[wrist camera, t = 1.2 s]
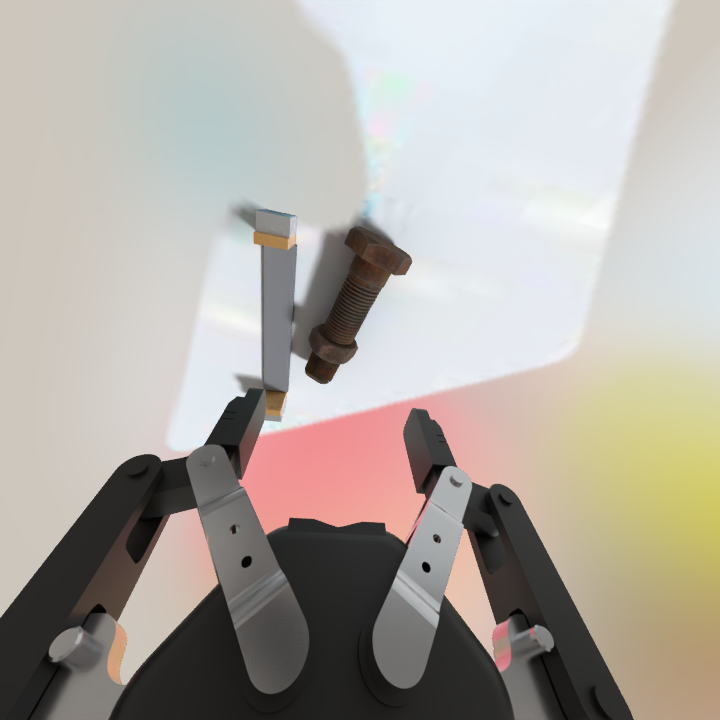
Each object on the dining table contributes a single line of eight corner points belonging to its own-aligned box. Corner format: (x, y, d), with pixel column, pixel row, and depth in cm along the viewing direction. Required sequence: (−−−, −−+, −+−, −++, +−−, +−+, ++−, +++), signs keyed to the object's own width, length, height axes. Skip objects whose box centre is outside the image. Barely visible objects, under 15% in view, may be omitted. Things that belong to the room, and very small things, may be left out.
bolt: (315, 354, 31) (373, 231, 24) (347, 379, 30) (418, 259, 23) (282, 370, 26) (343, 220, 19) (320, 401, 25) (400, 255, 18)
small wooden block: (265, 388, 31) (257, 408, 28) (286, 391, 31) (280, 410, 28) (265, 402, 32) (257, 422, 29) (286, 404, 32) (279, 424, 29)
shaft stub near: (266, 209, 21) (253, 210, 18) (297, 215, 21) (288, 218, 18) (266, 238, 22) (253, 243, 19) (295, 243, 22) (287, 250, 19)
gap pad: (264, 239, 22) (263, 239, 22) (297, 245, 22) (296, 246, 22) (264, 387, 31) (263, 389, 30) (288, 390, 31) (287, 392, 31)
